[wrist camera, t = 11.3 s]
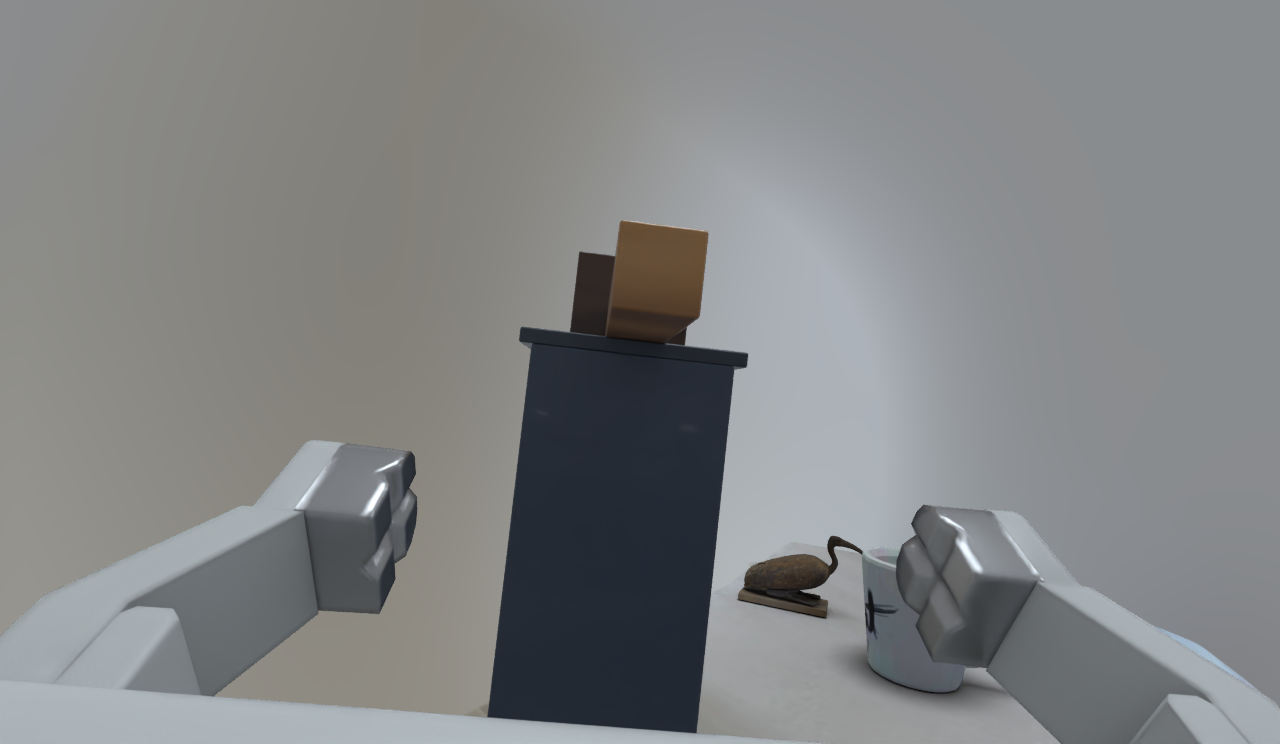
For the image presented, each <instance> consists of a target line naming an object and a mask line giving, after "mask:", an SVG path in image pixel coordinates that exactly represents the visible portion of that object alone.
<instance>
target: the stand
mask: <svg viewBox="0 0 1280 744" xmlns="http://www.w3.org/2000/svg"><path fill="white" fill-rule="evenodd" d="M519 341H520V342H521V343H523V344H524V345H526V346H527V347H528V348H530V349H531V354H530V363H529V371H528V379H527V388H526V397H525V405H524V413H523V422H522V431H521V439H520V448H519V455H518V464H517V472H516V482H515V489H514V498H513V506H512V515H511V523H510V532H509V540H508V549H507V557H506V566H505V574H504V582H503V591H502V600H501V609H500V616H499V624H498V633H497V641H496V650H495V658H494V667H493V675H492V684H491V692H490V701H489V709H488V717H489V718H502V719H515V720H528V721H541V722H554V723H567V724H580V725H593V726H606V727H619V728H632V729H645V730H658V731H671V732H684V733H696V732H697V722H698V713H699V703H700V694H701V684H702V674H703V665H704V655H705V646H706V636H707V626H708V617H709V607H710V597H711V588H712V578H713V569H714V558H715V549H716V540H717V530H718V520H719V510H720V501H721V492H722V482H723V472H724V463H725V453H726V443H727V434H728V424H729V415H730V405H731V395H732V386H733V375H734V370H735V369H741V368H746V367H747V360H748V353H744V352H735V351H727V350H717V349H709V348H701V347H692V346H684V345H675V344H667V343H658V342H650V341H641V340H632V339H624V338H615V337H607V336H598V335H590V334H581V333H573V332H564V331H555V330H547V329H538V328H529V327H521V329H520V337H519Z"/></svg>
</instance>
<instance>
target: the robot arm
mask: <svg viewBox="0 0 1280 744" xmlns="http://www.w3.org/2000/svg"><path fill="white" fill-rule="evenodd" d="M415 475H416V470H415V457H414V455H413V454H412V453H411V451H404V450H396V449H388V448H380V447H372V446H363V445H356V444H348V443H347V444H344V443H338V442H328V441H319V440H312V441H309V442H306V443H305V444H304V445H303V446H302V448H301V449H300V450H299V451H298V452H297V454H296V455H295V456H294V457H293V459H292V460H291V461H290V462H289V463H288V464H287V466H286V467H285V468H284V469H283V470H282V472H281V473H280V474H279V475H278V476H277V478H276V479H275V480H274V481H273V482H272V484H271V485H270V486H269V487H268V488H267V490H266V491H265V492H264V493H263V495H262V496H261V497H260V498H259V499H258V500H257V502H256V503H255V504H254V505H253V506H240V507H237V508H235V509H233V510H231V511H229V512H226V513H224V514H222V515H220V516H217V517H215V518H213V519H211V520H209V521H207V522H204V523H202V524H200V525H198V526H195V527H193V528H191V529H189V530H186V531H184V532H182V533H180V534H178V535H175V536H173V537H171V538H169V539H167V540H164V541H162V542H160V543H158V544H155V545H153V546H151V547H149V548H147V549H144V550H142V551H140V552H138V553H136V554H133V555H131V556H129V557H127V558H125V559H122V560H120V561H118V562H116V563H113V564H111V565H109V566H107V567H104V568H102V569H100V570H98V571H96V572H93V573H91V574H89V575H87V576H85V577H82V578H80V579H78V580H76V581H74V582H71V583H69V584H67V585H65V586H62V587H60V588H58V589H56V590H54V591H51V592H49V593H47V594H45V595H43V596H42V597H41V598H40V599H39V600H38V601H37V602H36V603H35V604H34V605H33V606H32V607H31V608H30V609H28V611H26V612H25V613H24V614H23V615H22V616H21V617H20V618H19V619H18V620H17V621H15V622H14V623H13V624H12V625H11V626H10V627H9V628H8V629H7V630H6V631H5V632H4V633H3V634H2V635H0V744H828V743H815V742H802V741H789V740H776V739H763V738H750V737H737V736H724V735H710V734H697V733H684V732H671V731H658V730H645V729H632V728H619V727H606V726H593V725H580V724H567V723H554V722H541V721H528V720H515V719H502V718H489V717H476V716H463V715H450V714H436V713H424V712H411V711H410V712H409V711H398V710H385V709H372V708H359V707H346V706H332V705H320V704H307V703H293V702H281V701H268V700H254V699H240V698H228V697H215V696H214V695H216V694H217V693H218V692H219V691H221V690H222V689H223V688H224V687H226V686H227V685H228V684H230V683H231V682H232V681H233V680H235V679H236V678H237V677H238V676H240V675H241V674H242V673H243V672H245V671H246V670H247V669H249V668H250V667H251V666H253V665H254V664H255V663H256V662H258V661H259V660H260V659H261V658H263V657H264V656H265V655H267V654H268V653H269V652H270V651H271V650H273V649H274V648H275V647H277V646H278V645H279V644H280V643H282V642H283V641H284V640H285V639H287V638H288V637H289V636H291V635H292V634H293V633H295V632H296V631H297V630H298V629H300V628H301V627H302V626H303V625H305V624H306V623H307V622H308V621H310V620H311V619H312V618H314V617H315V616H316V615H317V614H318V610H321V611H337V612H354V613H355V612H356V613H371V614H372V613H373V614H379V613H380V611H381V609H382V607H383V605H384V602H385V600H386V598H387V596H388V594H389V592H390V589H391V587H392V585H393V583H394V581H395V563H396V562H398V561H399V560H401V559H402V558H404V557H405V556H406V554H407V551H408V549H409V547H410V544H411V542H412V537H413V534H414V529H415V525H416V517H417V496H416V495H415V494H414V493H413V492H412V490H411V489H410V488H409V487H410V485H411V483H412V481H413V479H414V476H415ZM911 524H912V527H913V529H914V532H915V534H916V535H915V536H914V537H912V538H911V539H910V540H908V541H907V542H905V543H904V544H903V545H902V547H901V550H900V552H899V555H898V558H897V560H896V580H897V585H898V589H899V592H900V594H901V596H902V599H903V601H904V603H905V604H907V605H908V606H909V607H910V608H911V609H913V610H914V611H915V612H916V613H917V614H919V617H918V620H917V623H916V625H915V626H916V628H917V630H918V632H919V634H920V636H921V638H922V641H923V643H924V645H925V647H926V649H927V651H928V653H929V655H930V657H931V659H932V661H933V662H938V663H947V664H956V665H964V666H973V667H982V668H987V670H986V671H987V672H988V673H989V674H990V675H991V676H992V677H993V678H994V679H995V680H996V681H997V682H998V683H999V684H1000V685H1001V686H1002V687H1003V688H1004V689H1005V690H1006V691H1007V692H1009V693H1010V694H1011V695H1012V696H1013V697H1014V698H1015V699H1016V700H1017V701H1018V702H1019V703H1020V704H1021V705H1022V706H1023V707H1024V708H1025V709H1026V710H1027V711H1028V712H1029V713H1030V714H1031V715H1032V716H1033V717H1034V718H1035V719H1036V720H1037V721H1038V722H1039V723H1040V724H1041V725H1042V726H1043V727H1044V728H1045V729H1046V730H1048V731H1049V732H1050V733H1051V734H1052V735H1053V736H1054V737H1055V738H1056V739H1057V740H1058V741H1059V742H1060V743H1061V744H1280V707H1279V706H1278V705H1277V704H1276V703H1275V702H1274V701H1273V700H1271V699H1270V698H1268V697H1266V696H1265V695H1263V694H1262V693H1260V692H1258V691H1257V690H1255V689H1254V688H1252V687H1250V686H1249V685H1247V684H1245V683H1244V682H1242V681H1241V680H1239V679H1237V678H1236V677H1234V676H1233V675H1231V674H1229V673H1228V672H1226V671H1225V670H1223V669H1221V668H1220V667H1218V666H1216V665H1215V664H1213V663H1212V662H1210V661H1208V660H1207V659H1205V658H1204V657H1202V656H1200V655H1199V654H1197V653H1196V652H1194V651H1192V650H1191V649H1189V648H1187V647H1186V646H1184V645H1183V644H1181V643H1179V642H1178V641H1176V640H1175V639H1173V638H1171V637H1170V636H1168V635H1167V634H1165V633H1163V632H1162V631H1160V630H1158V629H1157V628H1155V627H1154V626H1152V625H1150V624H1149V623H1147V622H1146V621H1144V620H1142V619H1141V618H1139V617H1138V616H1136V615H1134V614H1133V613H1131V612H1129V611H1128V610H1126V609H1125V608H1123V607H1121V606H1120V605H1118V604H1117V603H1115V602H1113V601H1112V600H1110V599H1109V598H1107V597H1105V596H1104V595H1102V594H1100V593H1099V592H1097V591H1095V590H1094V589H1092V588H1091V587H1085V586H1080V585H1079V584H1078V583H1077V581H1076V580H1075V579H1074V578H1073V576H1072V575H1071V574H1070V573H1069V572H1068V570H1067V569H1066V568H1065V567H1064V565H1063V564H1062V563H1061V562H1060V561H1059V560H1058V558H1057V557H1056V556H1055V555H1054V553H1053V552H1052V551H1051V550H1050V549H1049V547H1048V546H1047V545H1046V544H1045V542H1044V541H1043V540H1042V539H1041V538H1040V536H1039V535H1038V534H1037V533H1036V531H1035V530H1034V529H1033V528H1032V526H1031V525H1030V524H1029V523H1028V522H1027V521H1026V519H1025V518H1024V517H1023V516H1021V515H1019V514H1017V513H1015V512H1010V511H997V510H973V509H962V508H951V507H942V506H931V505H923V506H922V507H921V508H920V509H919V510H918V511H917V512H916V514H915V517H914V519H913V521H912V523H911Z"/></svg>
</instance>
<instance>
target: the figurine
mask: <svg viewBox="0 0 1280 744" xmlns="http://www.w3.org/2000/svg"><path fill="white" fill-rule="evenodd" d="M827 545H828V546H827V548H828V552H829V554H830V557H831V559H832V564H831V565H830V566H829V565H828V564H826V563H825V562H823V561H822V560H820V559H819V558H817V557H816V556H812V555H807V554H798V555H790V556H784V557H780V558H775V559H771V560H767V561H764V562H760V563H758V564H756V565H753V566H752V567H750V568H749V569H748V571H747V572H746V575H745V579H744V582H745V584H744V587H743V588H742V590H741V591H740V592H739V595H738V599H740V600H744V601H749V602H754V603H759V604H764V605H768V606H773V607H778V608H783V609H787V610H792V611H797V612H802V613H807V614H811V615H816V616H820V617H825V618H826V614H827V606H828V601H827V600H823V599H820V596H819V595H815V594H810V593H804V592H802V591H800V590H806V589H812V588H816V587H818V586H820V585H822V584H823V583H825V582H826V580H827V579H828V578H829V576H830V575H831V574H832V573H833V572H834V571H835V570H836V568H837V566H838V560H837V558H836V555H835V553H834V547H835V546H842V547H847V548H850V549H853V550H855V551H857V552H859V553H860V554H862V553H863V551H862V550H861V549H859V548H858V547H856V546H855V545H853V544H851V543H849V542H847V541H845V540H843V539H841V538H840V537H836V536H831V537H830V538H829V540H828V544H827Z"/></svg>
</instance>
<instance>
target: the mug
mask: <svg viewBox="0 0 1280 744" xmlns="http://www.w3.org/2000/svg"><path fill="white" fill-rule="evenodd" d="M900 550H901V549H899V548H885V547H884V548H883V547H880V548H870V549H866V550H864V551H863V553H862V567H863V584H864V600H865V617H866V634H867V651H868V662H869V664H870V666H871V667H872V669H873V670H875V671H876V672H877V673H879V674H880V675H881V676H883V677H885V678H887V679H889V680H891V681H893V682H895V683H898V684H901V685H903V686H906V687H910V688H914V689H918V690H922V691H929V692H950V691H954V690H956V689H957V688H958V687H959V686H960V684H961V682H962V678H963V674H964V671H965V668H979V667H973V666H964V665H956V664H947V663H938V662H933V661H932V659H931V657H930V655H929V653H928V651H927V649H926V647H925V645H924V643H923V641H922V638H921V636H920V634H919V632H918V630H917V628H916V626H915V625H916V623H917V620H918V617H919V614H917V613H916V612H915V611H914V610H913V609H911V608H910V607H909V606H908V605H907V604H905V603H904V601H903V599H902V596H901V594H900V592H899V589H898V585H897V580H896V560H897V558H898V555H899V552H900Z"/></svg>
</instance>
